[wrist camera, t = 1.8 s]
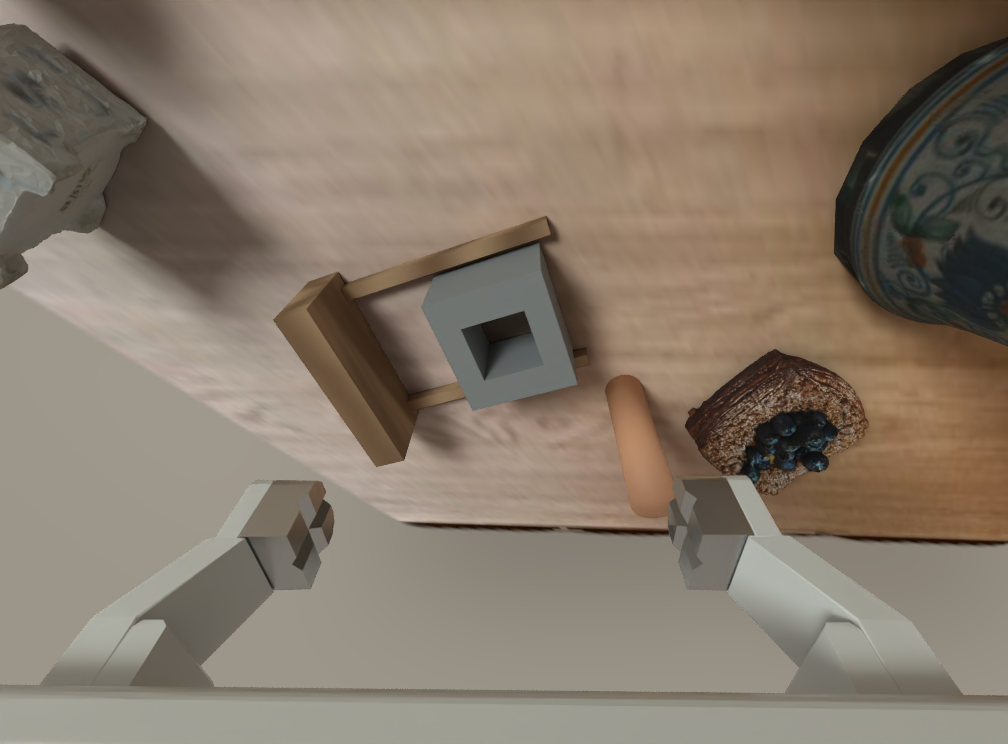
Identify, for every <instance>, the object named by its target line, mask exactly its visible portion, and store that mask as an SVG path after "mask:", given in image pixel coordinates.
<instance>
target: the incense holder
mask: <svg viewBox="0 0 1008 744" xmlns="http://www.w3.org/2000/svg"><path fill="white" fill-rule="evenodd" d="M145 126H146V117H144V116H142V115H140V114H139V113H138V112H137V111H136V110H135V109H134V108H133V107H132V106H130V105H129V104H127V103H125V102H124V101H123V100H121V99H119V98H118V97H117V96H115V95H114V94H113V93H112V92H110V91H109V90H108V89H106V88H105V87H104V86H103V85H101V84H100V83H99V82H98V81H97V80H96V79H94V78H93V77H92V76H90V75H89V74H87V73H86V72H84V71H83V70H82V69H81V68H80V67H79V66H77V65H76V64H74V63H73V62H72V61H70V60H69V59H68V58H67V57H65V56H64V55H63V54H62V53H61V52H59V51H58V50H57V49H56V48H55V47H53V46H52V45H51V44H49V43H48V42H47V41H45V40H44V39H43V38H41V37H40V36H39V35H38V34H36V33H34V32H33V31H31V30H30V29H29V28H28V27H27V26H25V25H17V24H14V23H13V24H7V25H1V26H0V289H2V288H4V287H6V286H7V285H9V284H11V283H12V282H14V281H15V280H17V279H18V278H20V277H21V276H23V275H24V274H25V273H27V272H28V264H27V263H26V261H25V260H24V257H23V256H22V255H21V253H23V252H25V251H26V250H28V249H31V248H34V247H35V246H38V244H39V243H41V242H42V241H43V240H45V239H47V238H48V237H50V236H51V234H56V233H60V232H62V230H68V231H75V232H79V233H90V232H92V231H93V230H95V229H97V228H98V226H99V224H100V223H101V220H102V217H103V215H104V212H105V210H106V203H105V201H104V196H103V191H104V189H105V187H106V186H107V184H108V182H109V180H110V178H111V177H112V176H113V173H114V171H115V170H116V168H117V165H118V162H119V159H120V153H121V151H122V149H123V148H124V147H126V146H127V145H129V144H132V143H135V142H136V141H137V140H138V138H139V137H140V134H141V133H142V131H143V129H144V128H145Z"/></svg>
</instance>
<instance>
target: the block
mask: <svg viewBox="0 0 1008 744" xmlns="http://www.w3.org/2000/svg"><path fill="white" fill-rule="evenodd" d="M422 309H423V311H424V314H425V316H426V318H427V320H428V322H429V324H430V326H431V328H432V330H433V332H434V334H435V336H436V338H437V340H438V342H439V344H440V346H441V348H442V350H443V352H444V354H445V356H446V358H447V360H448V362H449V364H450V366H451V368H452V370H453V372H454V374H455V376H456V378H457V380H458V382H459V384H460V386H461V388H462V390H463V392H464V394H465V396H466V398H467V400H468V402H469V404H470V406H471V408H472V410H473V411H474V410H478V409H482V408H486V407H490V406H494V405H498V404H502V403H506V402H510V401H514V400H518V399H522V398H526V397H530V396H534V395H538V394H542V393H546V392H550V391H554V390H558V389H562V388H566V387H570V386H574V385H578V382H577V376H576V369H575V362H574V355H573V348H572V345H571V341H570V338H569V335H568V332H567V329H566V326H565V322H564V319H563V316H562V313H561V310H560V307H559V303H558V300H557V297H556V294H555V291H554V287H553V284H552V281H551V278H550V275H549V272H548V268H547V265H546V262H545V259H544V256H543V253H542V249H541V246H540V243H539V242H538V243H534V244H531V245H528V246H525V247H522V248H519V249H516V250H513V251H510V252H507V253H504V254H501V255H498V256H495V257H491V258H488V259H485V260H482V261H479V262H476V263H473V264H470V265H467V266H464V267H461V268H458V269H455V270H452V271H448V272H445V273H442V274H439V275H436V276H434V278H433V280H432V283H431V285H430V288H429V290H428V292H427V295H426V297H425V300H424V302H423V304H422ZM522 311H524V312H525V314H526V317H527V320H528V323H529V325H530V328H531V331H532V332H531V333H528V334H524V335H521V336H517V337H513V338H510V339H506V340H503V341H499V342H496V343H492V344H489V343H488V340H487V338H486V336H485V333H484V331H483V329H482V326H481V323H484V322H488V321H491V320H494V319H498V318H501V317H505V316H508V315H511V314H515V313H518V312H522Z"/></svg>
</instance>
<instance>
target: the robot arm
mask: <svg viewBox="0 0 1008 744" xmlns="http://www.w3.org/2000/svg"><path fill="white" fill-rule="evenodd" d="M672 489H673V492H674V495H675V498H674V499H673V500H672V501H671V502H669V507H668V528H669V534H670V537H671V540H672V544H673V545H674V546H675V547H676V548H677V549H679V550H680V551H681V553H680V558H679V565H680V568H681V571H682V574H683V577H684V580H685V583H686V587H687V589H689V590H690V589H691V590H692V589H693V590H726V591H728V594H729V595H730V596H731V597H732V598H733V599H734V600H735V601H736V602H737V603H738V604H739V605H740V606H741V607H742V608H743V609H744V610H745V611H746V612H747V613H748V615H749V616H750V617H751V618H752V619H753V620H754V621H755V622H756V623H757V624H758V625H759V626H760V627H761V628H762V629H763V630H764V631H765V632H766V633H767V634H768V636H769V637H770V638H771V639H772V640H773V641H774V642H775V643H776V644H777V645H778V646H779V647H780V648H781V649H782V650H783V651H784V652H785V653H786V654H787V655H788V656H789V658H790V659H792V660H793V662H794V663H795V664H796V665H797V666H798V667H799V670H798V671H797V673H796V675H795V676H794V678H793V680H792V681H791V683H790V685H789V686H788V688H787V690H786V692H785V693H709V692H708V693H707V692H705V693H704V692H621V691H619V692H618V691H616V692H615V691H537V690H536V691H534V690H532V691H530V690H447V689H445V690H444V689H443V690H442V689H352V688H348V689H347V688H344V689H343V688H259V687H258V688H257V687H254V688H253V687H250V688H249V687H214V684H213V681H212V680H211V678H210V677H209V676H208V675H207V673H206V672H205V671H204V670H203V669H202V667H201V665H202V664H203V663H204V662H205V661H206V660H207V659H208V658H209V657H210V656H211V655H212V654H213V653H214V651H216V650H217V649H218V648H219V647H220V646H221V644H223V643H224V642H225V641H226V640H227V639H228V638H229V637H230V636H231V635H232V633H234V632H235V631H236V629H237V628H238V627H239V626H240V625H241V624H242V623H244V621H246V619H247V618H248V617H249V616H250V615H251V614H252V613H253V612H254V611H255V610H256V609H257V608H258V607H259V606H260V605H261V604H262V603H263V602H264V601H265V600H266V599H267V598H268V597H269V596H270V595H271V594H272V593H273V590H295V589H311V587H312V584H313V582H314V580H315V577H316V575H317V572H318V570H319V567H320V565H321V560H320V557H319V555H318V554H319V553H320V552H321V551H322V550H324V549H325V548H326V547H327V546H328V544H329V542H330V540H331V537H332V534H333V526H334V515H333V510H332V507H331V505H330V504H329V503H327V502H326V501H325V500H323V498H324V495H325V493H326V490H325V488H324V486H323V483H322V482H320V481H296V480H294V481H293V480H291V481H290V480H276V481H270V480H256V481H254V482H253V483H251V484H250V485H249V486H248V488H247V490H246V491H245V492H244V494H243V495H242V497H241V499H240V500H239V502H238V503H237V505H236V506H235V508H234V509H233V511H232V512H231V514H230V515H229V517H228V519H227V520H226V521H225V523H224V524H223V526H222V528H221V529H220V531H219V532H218V534H217V535H216V537H215V538H208V539H206V540H205V541H203V542H202V543H200V544H199V545H197V546H196V547H194V548H193V549H192V550H190V551H189V552H187V553H186V554H185V555H183V556H181V557H180V558H179V559H177V560H175V561H174V562H172V563H171V564H170V565H168V566H167V567H165V568H164V569H162V570H161V571H159V572H158V573H156V574H155V575H154V576H152V577H150V578H149V579H148V580H146V581H145V582H143V583H142V584H140V585H139V586H137V587H136V588H134V589H133V590H132V591H130V592H129V593H127V594H126V595H124V596H123V597H121V598H120V599H119V600H117V601H115V602H114V603H112V604H111V605H110V606H108V607H106V608H105V609H104V610H102V611H101V612H99V613H98V614H96V615H95V616H93V617H92V618H91V620H90V621H89V622H88V623H87V625H86V626H85V627H84V628H83V630H82V631H81V632H80V634H79V635H78V636H77V637H76V639H75V640H74V641H73V642H72V644H71V645H70V646H69V648H68V649H67V650H66V651H65V653H64V654H63V655H62V657H61V658H60V659H59V661H58V662H57V663H56V664H55V666H54V667H53V668H52V669H51V671H50V672H49V673H48V674H47V676H46V677H45V678H44V680H43V681H42V682H41V684H40V685H0V744H1008V696H995V695H992V696H990V695H985V696H984V695H963V694H962V693H961V691H960V690H959V689H958V687H957V686H956V684H955V683H954V681H953V680H952V679H951V677H950V676H949V674H948V673H947V671H946V670H945V669H944V667H943V666H942V664H941V663H940V662H939V660H938V659H937V657H936V656H935V654H934V653H933V652H932V650H931V649H930V647H929V646H928V645H927V643H926V642H925V640H924V639H923V637H922V636H921V635H920V633H919V632H918V630H917V629H916V628H915V626H914V625H913V623H912V622H911V621H910V620H909V619H907V618H906V617H904V616H903V615H901V614H900V613H899V612H897V611H896V610H894V609H893V608H891V607H890V606H889V605H887V604H886V603H884V602H883V601H882V600H880V599H879V598H877V597H876V596H875V595H873V594H872V593H870V592H869V591H867V590H866V589H864V588H863V587H862V586H860V585H859V584H858V583H856V582H855V581H853V580H852V579H850V578H849V577H848V576H846V575H845V574H843V573H842V572H840V571H839V570H838V569H836V568H835V567H833V566H832V565H831V564H829V563H828V562H826V561H825V560H824V559H822V558H821V557H819V556H818V555H816V554H815V553H814V552H812V551H811V550H809V549H808V548H807V547H805V546H804V545H802V544H801V543H799V542H798V541H796V540H795V539H794V538H792V537H791V536H783V535H782V534H781V532H780V530H779V528H778V527H777V525H776V523H775V521H774V520H773V518H772V516H771V514H770V513H769V511H768V509H767V507H766V506H765V504H764V502H763V500H762V499H761V497H760V495H759V493H758V492H757V490H756V488H755V487H754V485H753V483H752V481H751V480H750V478H748V477H747V476H746V475H744V476H722V477H721V476H690V477H676V479H675V480H674V484H673V488H672Z"/></svg>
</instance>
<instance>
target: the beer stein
mask: <svg viewBox="0 0 1008 744" xmlns="http://www.w3.org/2000/svg"><path fill="white" fill-rule="evenodd" d="M834 254H835V255H836V256H837V257H838V258H839V259H840V261H841V262H842V263H843V264H844V265H845V266H846V267H847V269H848V270H849V271H850V272H851V273H852V274H853V275H854V277H855V278H856V279H857V280H858V281H859V282H860V284H861V286H862V288H863V289H864V291H865V292H866V293H867V294H868V295H869V296H870V298H871V299H872V300H873V301H874V302H876V303H877V304H878V305H879V306H881V307H883V308H884V309H886V310H888V311H889V312H892V313H894V314H896V315H898V316H901V317H903V318H906V319H909V320H913V321H916V322H921V323H928V324H938V325H947V326H952V327H955V328H958V329H961V330H965V331H968V332H971V333H974V334H977V335H980V336H983V337H986V338H988V339H991V340H993V341H996V342H998V343H1001V344H1003V345H1006V346H1008V37H1007V38H1005V39H1002V40H999V41H996V42H994V43H991V44H988V45H985V46H983V47H980V48H977V49H975V50H972V51H969V52H966V53H964V54H961V55H960V56H958V57H957V58H955V59H954V60H952V61H951V62H949V63H948V64H946V65H945V66H943V67H942V68H940V69H939V70H937V71H936V72H934V73H933V74H931V75H930V76H928V77H927V78H925V79H924V80H923V81H921V82H920V83H918V84H917V85H915V86H914V87H912V88H911V89H909V91H908V92H907V93H906V94H905V95H904V96H903V97H902V98H901V100H900V101H899V102H898V103H897V104H896V105H895V106H894V107H893V109H892V110H891V111H890V112H889V113H888V114H887V115H886V116H885V118H884V119H883V120H882V121H881V122H880V123H879V124H878V125H877V127H876V128H875V129H874V130H873V131H872V132H871V133H870V135H869V136H868V137H867V138H866V139H865V140H864V141H863V143H862V145H861V147H860V149H859V151H858V153H857V155H856V158H855V160H854V162H853V164H852V166H851V168H850V170H849V173H848V175H847V177H846V179H845V181H844V183H843V185H842V188H841V190H840V192H839V194H838V196H837V198H836V210H835V239H834Z"/></svg>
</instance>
